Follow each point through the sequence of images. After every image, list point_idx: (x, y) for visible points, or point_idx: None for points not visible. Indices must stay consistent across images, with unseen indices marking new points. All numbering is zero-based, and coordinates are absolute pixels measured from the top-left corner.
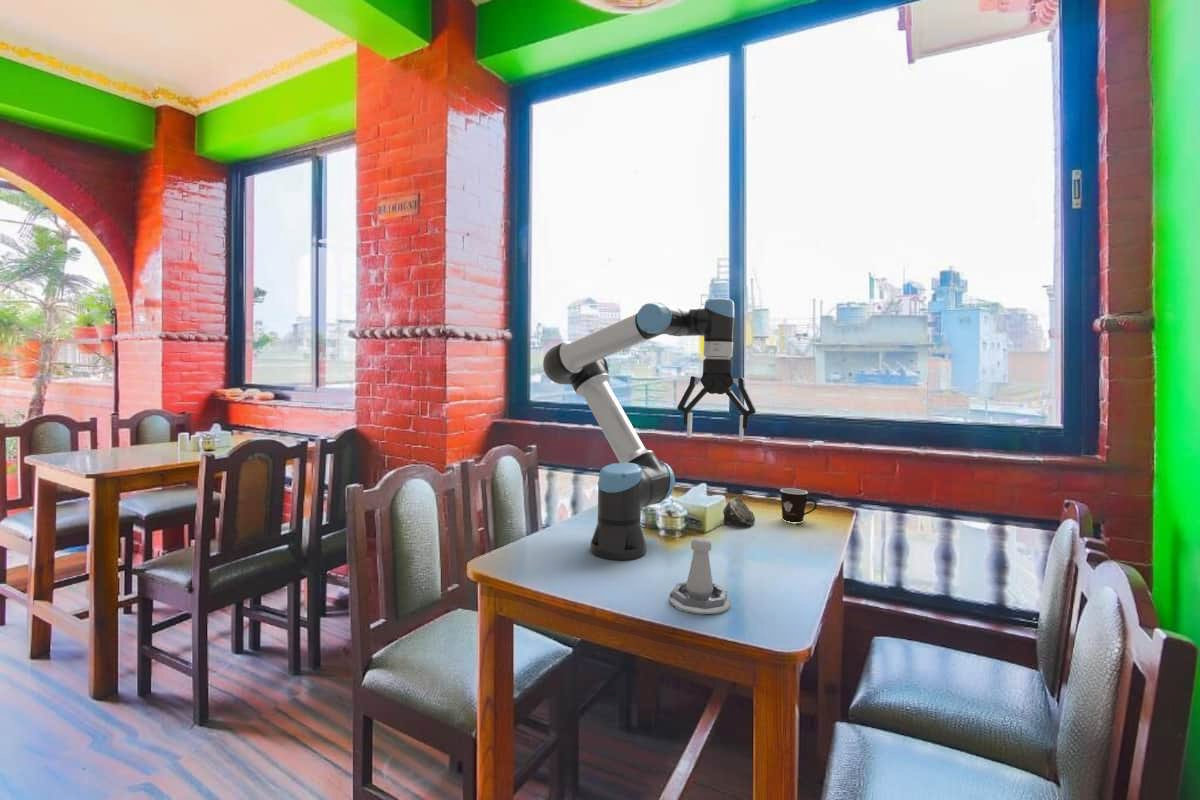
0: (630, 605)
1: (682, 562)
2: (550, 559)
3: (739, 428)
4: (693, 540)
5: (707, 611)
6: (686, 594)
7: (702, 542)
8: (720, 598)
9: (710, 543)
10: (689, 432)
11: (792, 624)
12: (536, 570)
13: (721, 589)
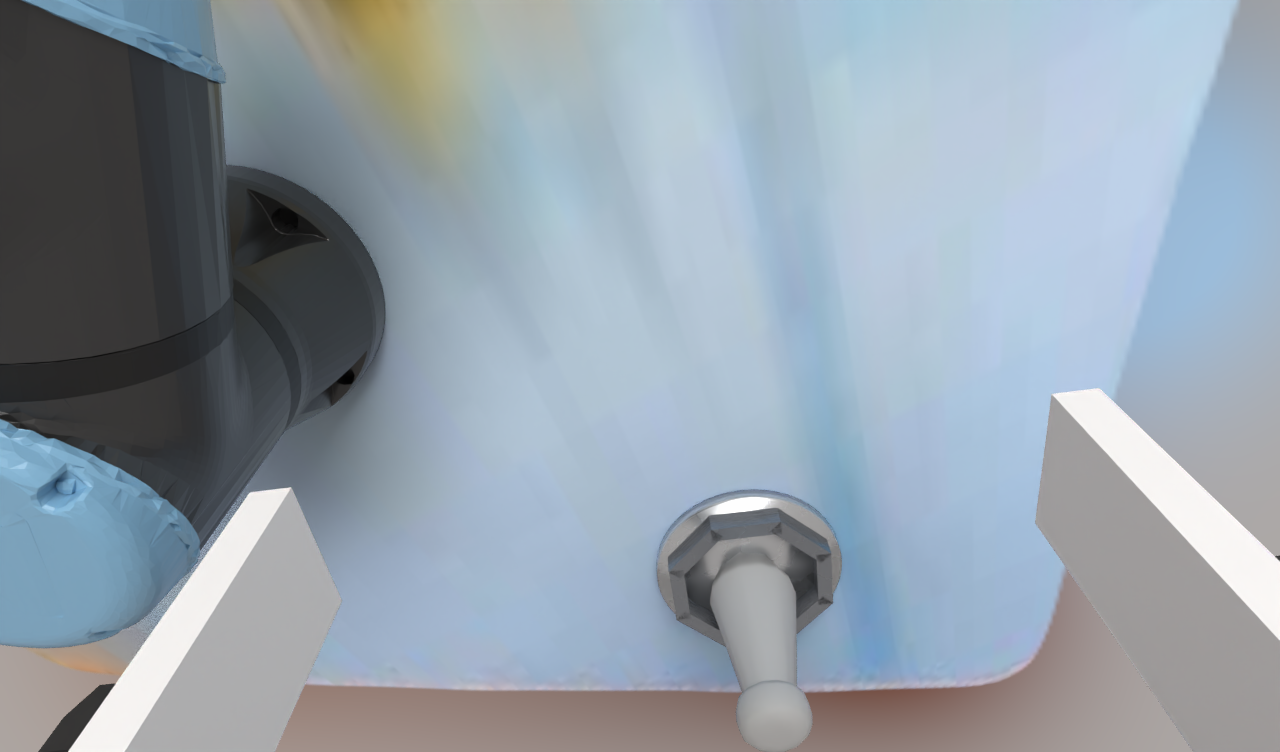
0: (582, 654)
1: (563, 275)
2: None
3: (1141, 675)
4: (750, 744)
5: None
6: (705, 571)
7: (787, 750)
8: (822, 603)
9: (811, 725)
10: (308, 662)
11: (1018, 566)
12: None
13: (811, 550)
